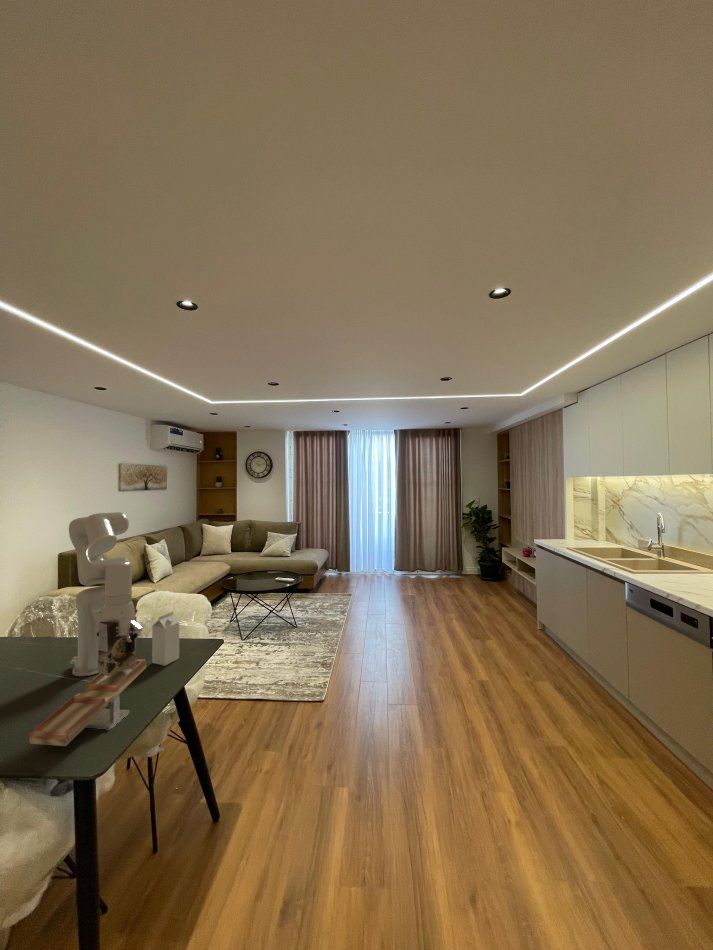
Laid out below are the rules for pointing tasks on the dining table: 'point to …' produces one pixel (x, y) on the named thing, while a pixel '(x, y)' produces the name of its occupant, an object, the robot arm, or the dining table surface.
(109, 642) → the coffee box
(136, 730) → the dining table surface
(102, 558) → the robot arm
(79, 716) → the seesaw beam
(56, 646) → the dining table surface
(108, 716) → the seesaw stand
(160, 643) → the milk carton
